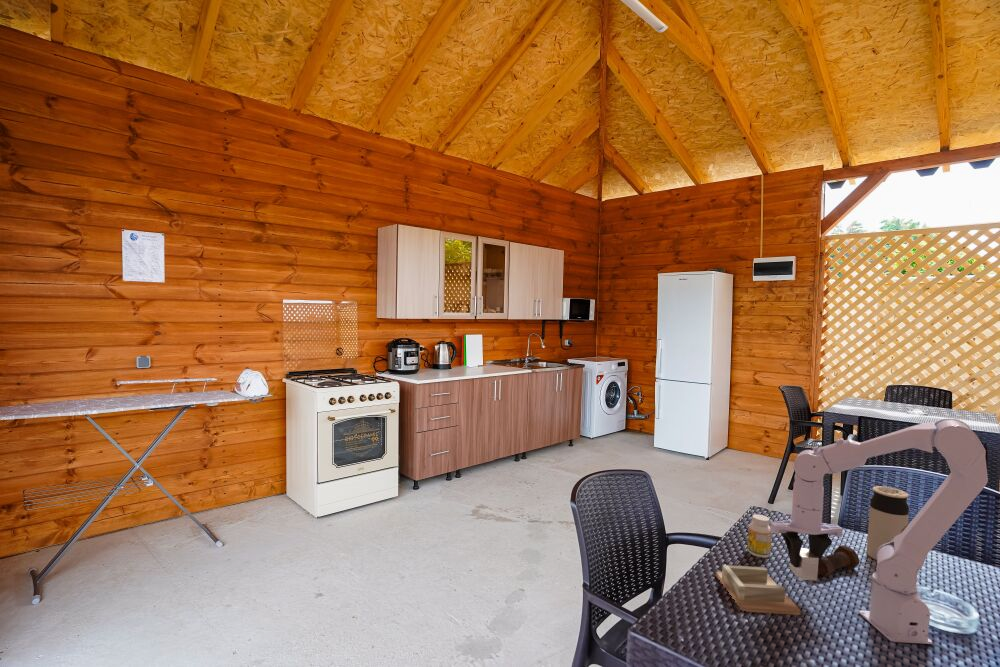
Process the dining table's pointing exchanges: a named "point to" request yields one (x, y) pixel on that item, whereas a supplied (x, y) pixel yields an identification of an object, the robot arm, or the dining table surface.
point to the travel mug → (886, 517)
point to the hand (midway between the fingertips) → (803, 565)
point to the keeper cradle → (756, 590)
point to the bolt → (838, 561)
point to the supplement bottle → (759, 536)
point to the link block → (806, 565)
